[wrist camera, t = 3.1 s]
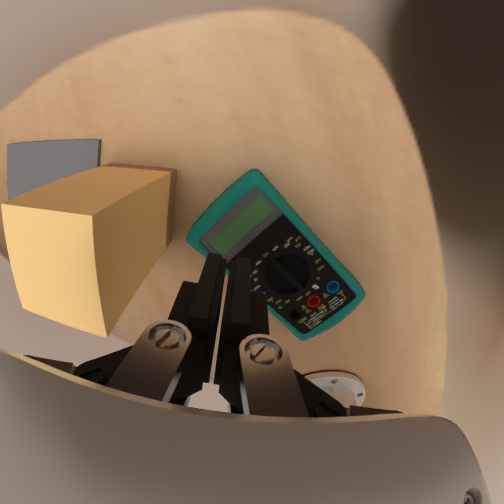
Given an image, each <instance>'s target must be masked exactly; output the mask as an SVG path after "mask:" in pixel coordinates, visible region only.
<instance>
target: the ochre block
mask: <svg viewBox="0 0 504 504" xmlns="http://www.w3.org/2000/svg"><path fill="white" fill-rule="evenodd" d="M176 173H177V169H170V168H160V167H149V166H137V165H124V164H106V165H103V166H100V167H96V168H93V169H90V170H87V171H84V172H80V173H77V174H74V175H71V176H69V177H66V178H63V179H60V180H57V181H55V182H52V183H49V184H47V185H44V186H41V187H39V188H36V189H34V190H31V191H29V192H27V193H24V194H22V195H20V196H17V197H15V198H13V199H11V200H8V201H6V202H4V203H2V204H1V208H2V217H3V224H4V231H5V237H6V243H7V249H8V254H9V258H10V263H11V267H12V271H13V276H14V279H15V283H16V287H17V291H18V294H19V297H20V300H21V304H22V307H23V308H24V309H26V310H28V311H31V312H33V313H36V314H38V315H41V316H44V317H46V318H49V319H51V320H54V321H57V322H59V323H62V324H65V325H68V326H71V327H74V328H77V329H80V330H83V331H86V332H89V333H92V334H95V335H99V336H102V337H106V338H107V337H108V336H109V334H110V333H111V331H112V329H113V328H114V326H115V324H116V323H117V321H118V319H119V318H120V316H121V315H122V313H123V312H124V310H125V308H126V307H127V305H128V304H129V302H130V301H131V299H132V297H133V296H134V294H135V293H136V291H137V290H138V288H139V287H140V285H141V284H142V282H143V281H144V279H145V278H146V276H147V275H148V273H149V272H150V271H151V269H152V268H153V266H154V265H155V263H156V262H157V260H158V259H159V258H160V256H161V255H162V253H163V252H164V250H165V249H166V248H167V246H168V245H169V243H170V242H171V233H172V218H173V204H174V193H175V182H176Z"/></svg>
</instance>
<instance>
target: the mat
mask: <svg viewBox="0 0 504 504" xmlns="http://www.w3.org/2000/svg"><path fill="white" fill-rule="evenodd" d="M100 149H101V140H55V141H38V142H26V143H15V144H8V145H7V184H8V200H11V199H13V198H15V197H17V196H20V195H22V194H24V193H27V192H29V191H31V190H34V189H36V188H39V187H41V186H44V185H47V184H49V183H52V182H55V181H57V180H60V179H63V178H66V177H69V176H71V175H74V174H77V173H80V172H84V171H87V170H90V169H93V168H96V167H99V165H100Z"/></svg>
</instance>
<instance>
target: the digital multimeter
mask: <svg viewBox="0 0 504 504" xmlns="http://www.w3.org/2000/svg"><path fill="white" fill-rule="evenodd" d="M287 218H288V219H287ZM186 240H187V242H188V243H189V244H190V245H191V246H193V247H194V248H195V249H196V250H197V251H199V252H200V253H201V254H202V255H204V256H205V257H206V258H207V255H208V253H215V254H221V255H222V258H224V259H227V263H226V270H225V273H226V274H227V275H228V276H229V271H230V265H231V260H237V257H241V258H247V259H251V275H250V291H252V292H259V293H266V295H267V309H268V311H270V312H271V313H272V314H273V315H274V316H275V317H276V318H277V319H278V320H280V321H281V322H282V323H283V324H284V325H285V326H286V327H287V328H288V329H289V330H290V331H291V332H292V333H293V334H294V335H296V336H297V337H298V338H299V339H300V340H306V339H309V338H311V337H313V336H316V335H318V334H320V333H322V332H324V331H326V330H328V329H330V328H331V327H333V326H334V325H336V324H337V323H339V322H340V321H342V320H343V319H344V318H345V317H346V316H347V315H348V314H350V313H351V312H352V311H353V310H354V309H355V308H356V306H357V305H358V304H359V303H360V302H361V301H362V300H363V299H364V298H365V295H366V294H365V292H364V290H363V288H362V287H361V285H360V283H359V282H358V281H357V280H356V279H355V277H354V276H353V275H352V274H351V273H350V272H349V271H348V270H347V269H346V268H345V267H344V266H343V265H342V264H341V262H340V261H339V260H338V259H337V258H336V257H335V256H334V255H333V254H332V253H331V252H330V250H329V249H328V248H327V247H326V246H325V245H324V244H323V243H322V242H321V241H320V240H319V239H318V237H317V236H316V235H315V234H314V233H313V232H312V230H311V229H310V228H309V227H308V226H307V225H306V224H305V222H304V221H303V220H302V219H301V218H300V217H299V216H298V215H297V213H296V212H295V211H294V210H293V209H292V208H291V207H290V205H289V204H288V203H287V202H286V201H285V199H284V198H283V197H282V196H281V195H280V194H279V192H278V191H277V190H276V189H275V188H274V187H273V186H272V184H271V183H270V182H269V181H268V180H267V179H266V178H265V176H264V175H263V174H262V173H261V172H260V171H259V170H257V169H251V170H249V171H248V172H247V173H246V174H244V175H243V176H242V177H241V178H239V179H238V180H237V181H236V182H234V183H233V184H232V185H231V186H230V187H229V188H227V189H226V190H225V191H224V192H223V193H222V194H221V195H220V196H219V197H218V198H217V199H216V200H215V201H214V202H213V203H212V204H211V205H210V206H209V207H208V208H207V209H206V211H205V212H204V213H203V214H202V215H201V216H200V218H199V219H198V220H197V221H196V222H195V224H194V225H193V226H192V228H191V229H190V231H189V232H188V234H187V236H186ZM337 273H338V274H337ZM262 274H263V275H262ZM344 281H345V282H344ZM350 288H351V289H350ZM276 294H277V295H276Z"/></svg>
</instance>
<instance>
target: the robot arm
mask: <svg viewBox="0 0 504 504" xmlns="http://www.w3.org/2000/svg"><path fill="white" fill-rule="evenodd" d="M226 263H227V259H224V258H222V255H221V254H215V253H208V255H207V258H206V261H205V264H204V267H203V270H202V273H201V276H200V279H199V283H193V282H188V281H183V283H182V285H181V288H180V290H179V293H178V295H177V297H176V300H175V302H174V305H173V307H172V310H171V312H170V315H169V317H168V320H159V321H155V322H153V323H151V324H149V325H148V326H147V327H146V328H145V330H144V331H143V333H142V334H141V335H140V337H139V338H138V340H137V341H136V342H135V344H134V345H133V346H130V347H127V348H124V349H122V350H119V351H116V352H113V353H110V354H108V355H105V356H102V357H99V358H96V359H93V360H90V361H87V362H85V363H83V364H81V365H79V366H78V367H75V366H74V364H73V363H70V362H63V361H56V360H51V359H46V358H40V357H34V356H30V355H20V354H17V353H14V352H11V351H7V350H2V349H0V504H491V501H490V498H489V494H488V490H487V487H486V483H485V480H484V477H483V474H482V471H481V469H480V466H479V464H478V461H477V458H476V456H475V454H474V451H473V449H472V447H471V445H470V444H469V441H468V440H467V438H466V436H465V435H464V433H463V432H462V430H461V429H460V428H459V427H458V426H457V424H455V423H454V422H452V421H450V420H448V419H446V418H443V417H439V416H434V415H429V414H419V413H403V412H400V411H394V410H384V409H376V408H368V407H361V405H362V403H363V402H364V400H365V397H366V390H365V387H364V384H363V383H362V381H361V380H360V379H359V378H358V377H356V376H354V375H352V374H349V373H344V372H334V371H331V372H320V373H314V374H310V375H306V376H303V375H301V374H300V373H299V372H297V371H296V370H294V369H293V366H292V363H291V360H290V357H289V354H288V351H287V349H286V347H285V345H284V344H283V343H282V342H281V341H280V340H278V339H276V338H275V337H272V336H269V324H268V309H267V295H266V293H259V292H252V291H250V275H251V259H247V258H241V257H237V260H231V265H230V271H229V277H228V284H227V290H226V297H225V303H224V310H223V317H222V324H221V331H220V339H219V346H218V354H217V361H216V369H215V377H214V384H218V385H220V386H219V393H220V394H221V395H222V396H223V397H224V398H225V399H226V400H227V401H228V413H226V412H218V411H211V410H205V409H198V408H193V407H187V406H188V403H189V400H190V395H192V394H194V393H196V392H198V391H200V390H202V385H203V382H205V383H209V379H210V372H211V365H212V359H213V352H214V346H215V340H216V333H217V327H218V321H219V314H220V307H221V299H222V292H223V284H224V277H225V270H226Z"/></svg>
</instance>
